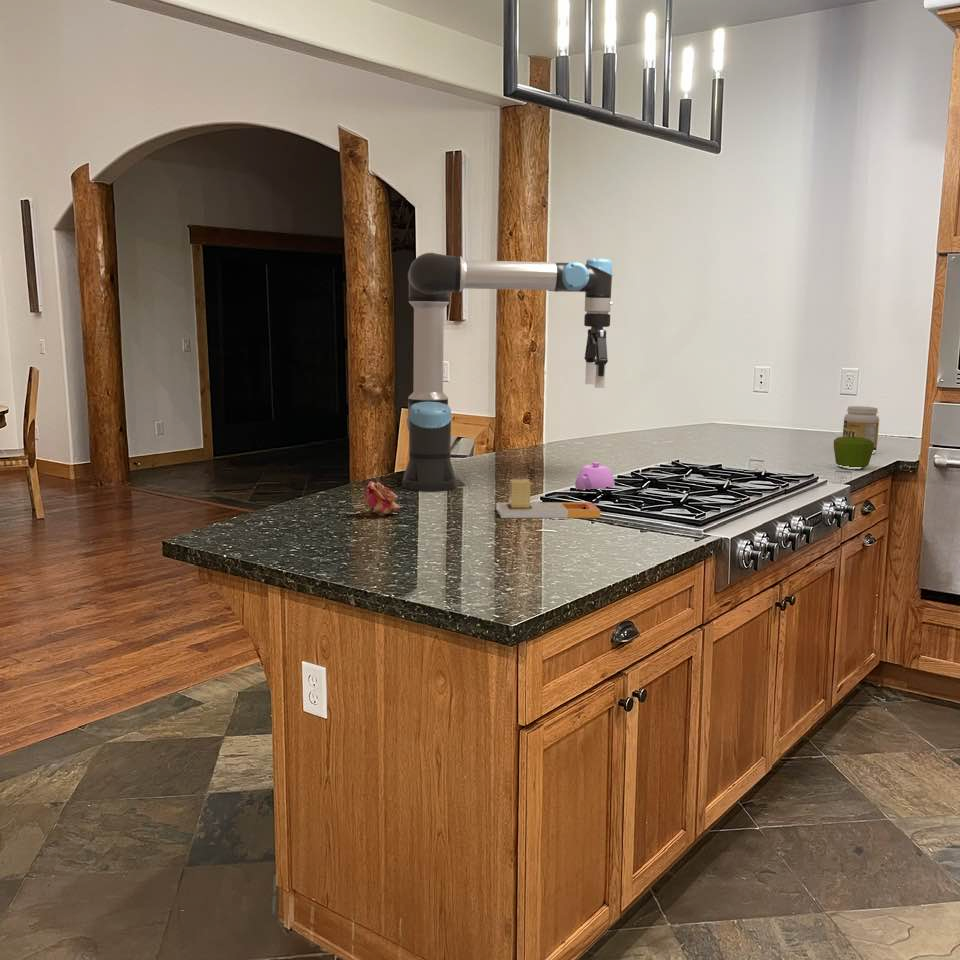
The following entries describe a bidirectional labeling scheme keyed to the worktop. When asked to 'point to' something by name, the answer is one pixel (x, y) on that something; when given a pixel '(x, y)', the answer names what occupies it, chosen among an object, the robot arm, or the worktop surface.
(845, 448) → the apple
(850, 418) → the supplement tub
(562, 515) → the rail
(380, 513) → the flower
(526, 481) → the brass nut block
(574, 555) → the worktop surface
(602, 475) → the teapot
